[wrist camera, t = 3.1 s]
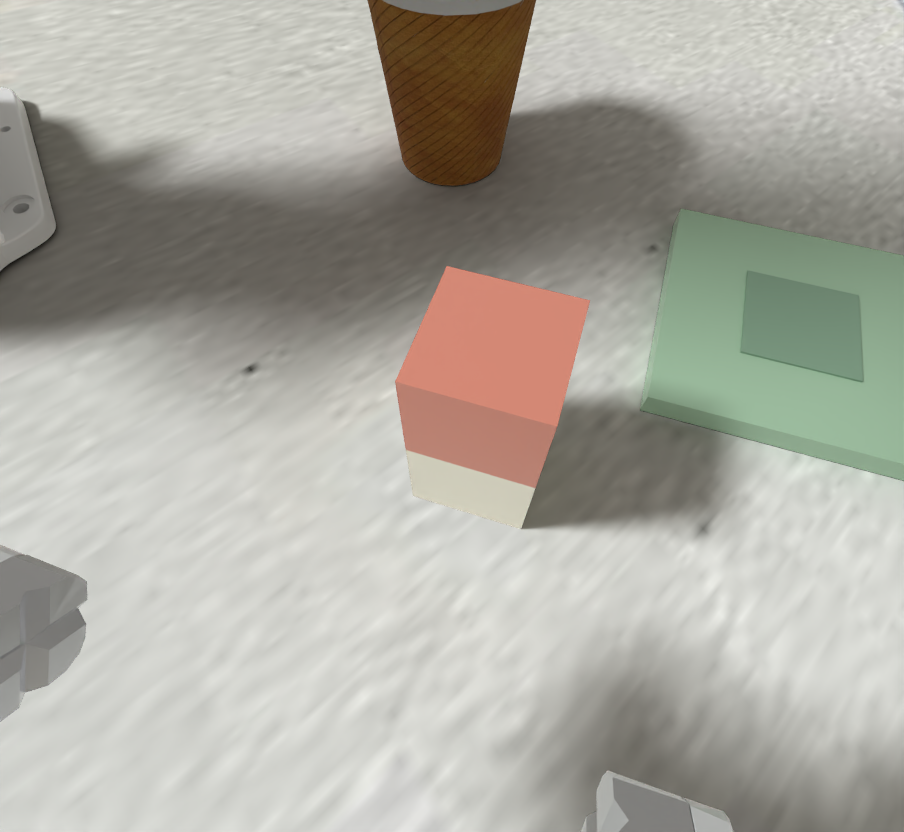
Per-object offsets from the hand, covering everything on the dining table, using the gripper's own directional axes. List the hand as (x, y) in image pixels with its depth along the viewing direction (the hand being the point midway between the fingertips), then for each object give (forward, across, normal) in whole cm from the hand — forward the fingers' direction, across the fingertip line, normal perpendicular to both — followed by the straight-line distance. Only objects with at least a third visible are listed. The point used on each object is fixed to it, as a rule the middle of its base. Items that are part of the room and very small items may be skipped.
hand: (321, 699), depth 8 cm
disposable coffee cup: (+31, +8, -12) cm, 34 cm away
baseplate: (+25, -13, -6) cm, 29 cm away
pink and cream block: (+17, 0, +2) cm, 17 cm away
